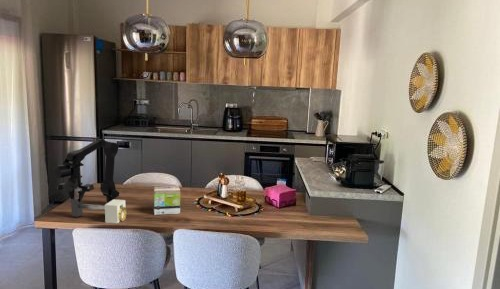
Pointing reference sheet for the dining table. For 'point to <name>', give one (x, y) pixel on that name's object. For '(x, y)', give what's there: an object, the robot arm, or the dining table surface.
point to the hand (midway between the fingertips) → (76, 201)
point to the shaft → (78, 206)
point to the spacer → (121, 213)
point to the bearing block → (113, 211)
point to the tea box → (166, 200)
